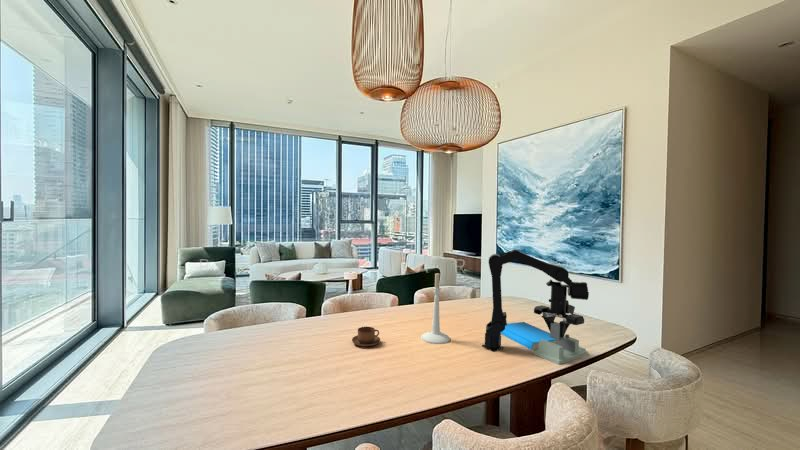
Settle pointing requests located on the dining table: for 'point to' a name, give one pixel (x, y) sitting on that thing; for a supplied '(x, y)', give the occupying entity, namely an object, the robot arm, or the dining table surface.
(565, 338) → the jaw
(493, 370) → the dining table surface
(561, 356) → the vise
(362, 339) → the cup and saucer
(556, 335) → the block
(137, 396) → the dining table surface
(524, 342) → the book
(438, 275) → the candlestick
